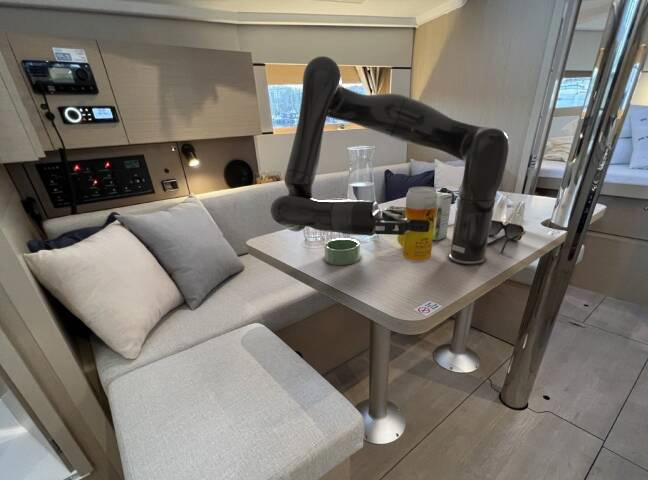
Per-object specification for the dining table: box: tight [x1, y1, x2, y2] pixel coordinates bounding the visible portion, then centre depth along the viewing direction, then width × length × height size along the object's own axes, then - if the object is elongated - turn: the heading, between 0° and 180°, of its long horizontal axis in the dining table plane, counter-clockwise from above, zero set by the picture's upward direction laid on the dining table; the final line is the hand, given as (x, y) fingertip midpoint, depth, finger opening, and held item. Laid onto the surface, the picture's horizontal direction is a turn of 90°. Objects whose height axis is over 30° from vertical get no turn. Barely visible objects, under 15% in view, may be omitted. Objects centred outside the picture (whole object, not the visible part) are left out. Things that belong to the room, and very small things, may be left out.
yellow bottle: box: [402, 186, 438, 264], centre depth 67 cm, size 6×6×15 cm
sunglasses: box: [489, 220, 527, 254], centre depth 101 cm, size 14×15×5 cm
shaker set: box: [492, 194, 526, 227], centre depth 112 cm, size 12×4×11 cm, turn 30°
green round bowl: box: [323, 238, 361, 266], centre depth 95 cm, size 10×10×4 cm
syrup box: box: [433, 191, 453, 241], centre depth 105 cm, size 6×6×14 cm
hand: (431, 221), depth 66 cm, fingers closed on yellow bottle, 6 cm apart
